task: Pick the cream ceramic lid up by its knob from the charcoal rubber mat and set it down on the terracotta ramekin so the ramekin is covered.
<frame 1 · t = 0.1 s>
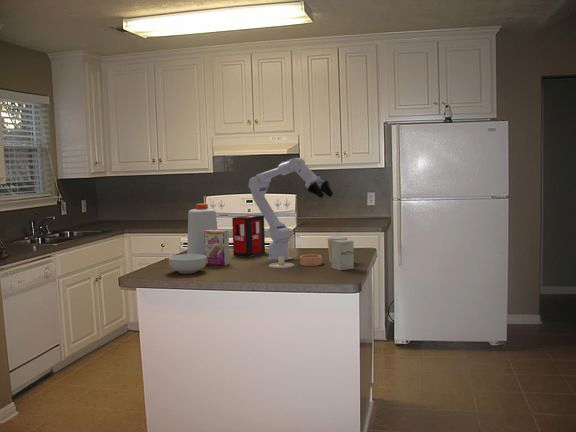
hand: (327, 195, 266), 32 cm above the worktop, tool tilted 50°, fingers open, 7 cm apart
cereal bowl: (188, 272, 258), on the worktop
plastic bottle: (203, 258, 294), on the worktop
mat: (281, 266, 265), on the worktop
lid: (281, 265, 265), resting on mat
candy bar box: (217, 264, 276), on the worktop
cleaning product box: (249, 254, 304), on the worktop
coffee cup: (337, 262, 273), on the worktop
supplement box: (342, 268, 257), on the worktop
ramekin: (310, 264, 269), on the worktop
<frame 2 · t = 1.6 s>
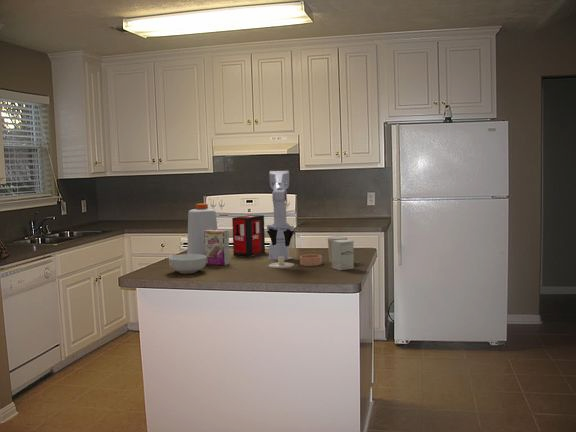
hand: (280, 245, 265), 10 cm above the worktop, tool pointing down, fingers open, 7 cm apart
nothing on the worktop moved.
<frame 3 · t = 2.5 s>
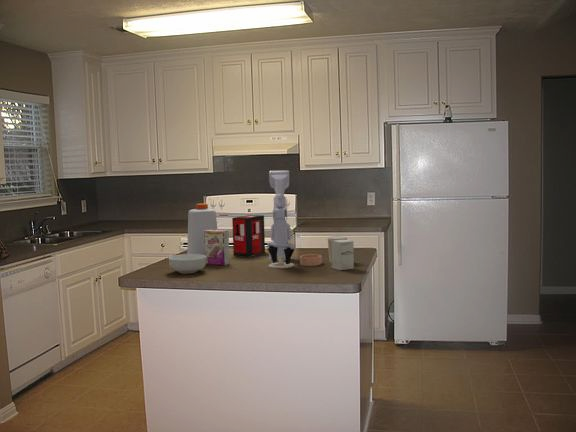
hand: (281, 263, 265), 2 cm above the worktop, tool pointing down, fingers open, 7 cm apart
nothing on the worktop moved.
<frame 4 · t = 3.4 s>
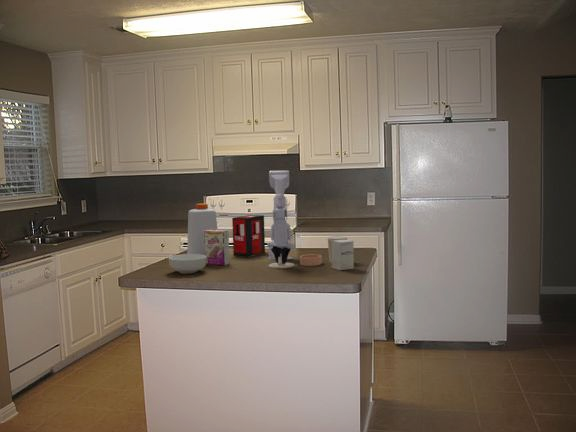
hand: (281, 263, 265), 2 cm above the worktop, tool pointing down, fingers closed on lid, 3 cm apart
lid: (281, 265, 265), resting on mat, touching gripper
everything else where it was.
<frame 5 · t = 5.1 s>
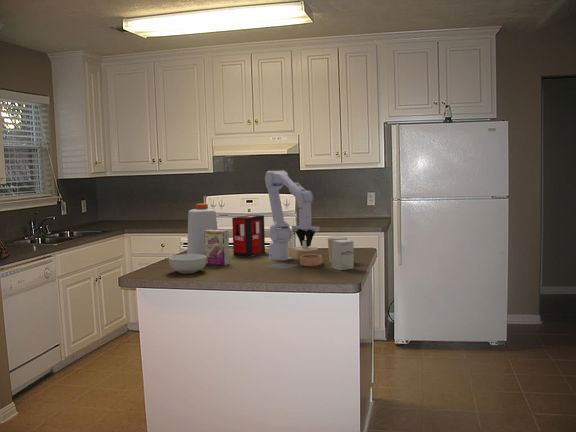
hand: (305, 246, 267), 9 cm above the worktop, tool pointing down, fingers closed on lid, 3 cm apart
lid: (305, 249, 267), point 7 cm above the worktop, touching gripper
everything else where it was.
when the fingers open (6 cm above the worktop, at t = 6.5 s): lid stays where it is, resting on ramekin.
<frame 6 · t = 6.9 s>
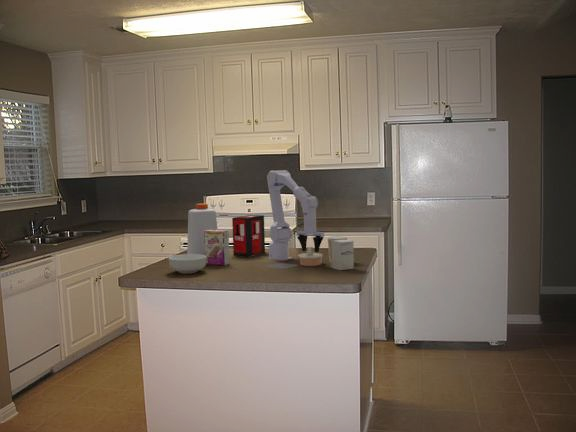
hand: (310, 251, 268), 6 cm above the worktop, tool pointing down, fingers open, 6 cm apart
lid: (310, 256, 268), point 4 cm above the worktop, touching ramekin
everything else where it was.
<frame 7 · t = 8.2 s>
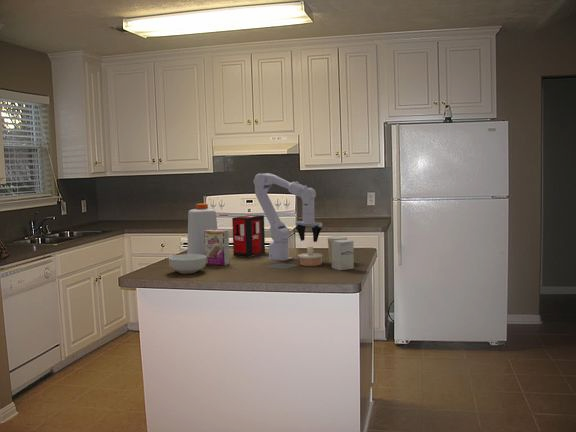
hand: (308, 241, 277), 10 cm above the worktop, tool pointing down, fingers open, 7 cm apart
nothing on the worktop moved.
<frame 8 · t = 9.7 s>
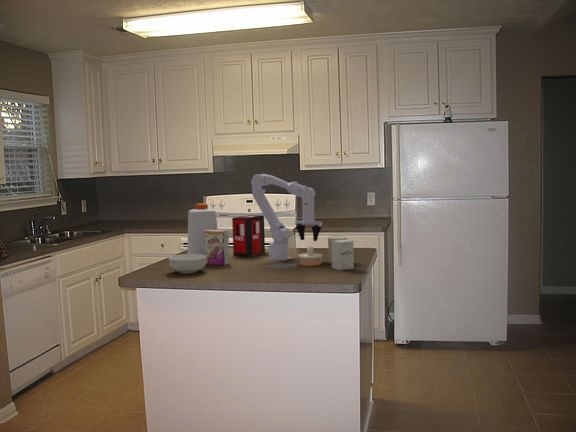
hand: (308, 240, 279), 10 cm above the worktop, tool pointing down, fingers open, 7 cm apart
nothing on the worktop moved.
at the end: lid 0.3 cm off-centre on the ramekin, point 4.0 cm above the ramekin's base; lid tilted 0°; the gripper is holding nothing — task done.
